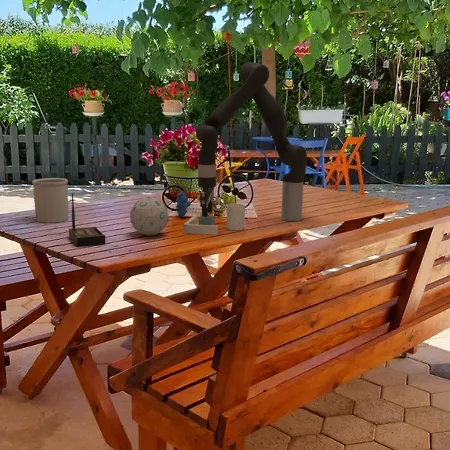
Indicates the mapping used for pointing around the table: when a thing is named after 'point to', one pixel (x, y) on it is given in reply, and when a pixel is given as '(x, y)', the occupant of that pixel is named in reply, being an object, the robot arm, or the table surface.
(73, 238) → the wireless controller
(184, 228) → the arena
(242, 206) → the white cup
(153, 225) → the puzzle ball
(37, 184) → the utensil holder
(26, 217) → the table surface
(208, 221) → the teal block
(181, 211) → the grapes
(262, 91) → the robot arm
